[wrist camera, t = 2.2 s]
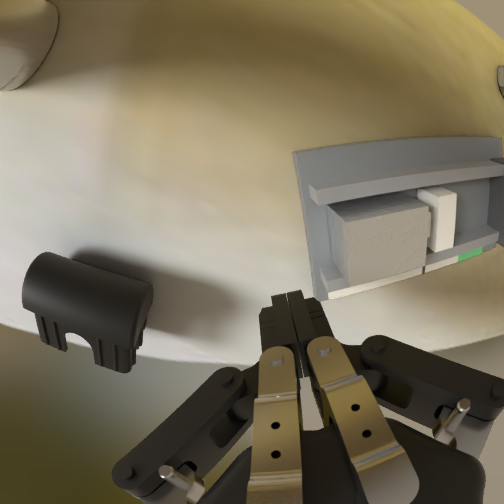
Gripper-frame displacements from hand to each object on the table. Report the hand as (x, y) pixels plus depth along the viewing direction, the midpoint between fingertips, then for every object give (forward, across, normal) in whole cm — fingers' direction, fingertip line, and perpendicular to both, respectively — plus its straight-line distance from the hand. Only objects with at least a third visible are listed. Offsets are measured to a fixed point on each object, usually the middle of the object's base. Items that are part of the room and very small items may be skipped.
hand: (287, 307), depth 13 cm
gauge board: (+8, -14, 0) cm, 16 cm away
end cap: (+8, +15, +1) cm, 18 cm away
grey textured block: (+7, -8, 0) cm, 11 cm away
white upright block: (+7, -13, 0) cm, 15 cm away
